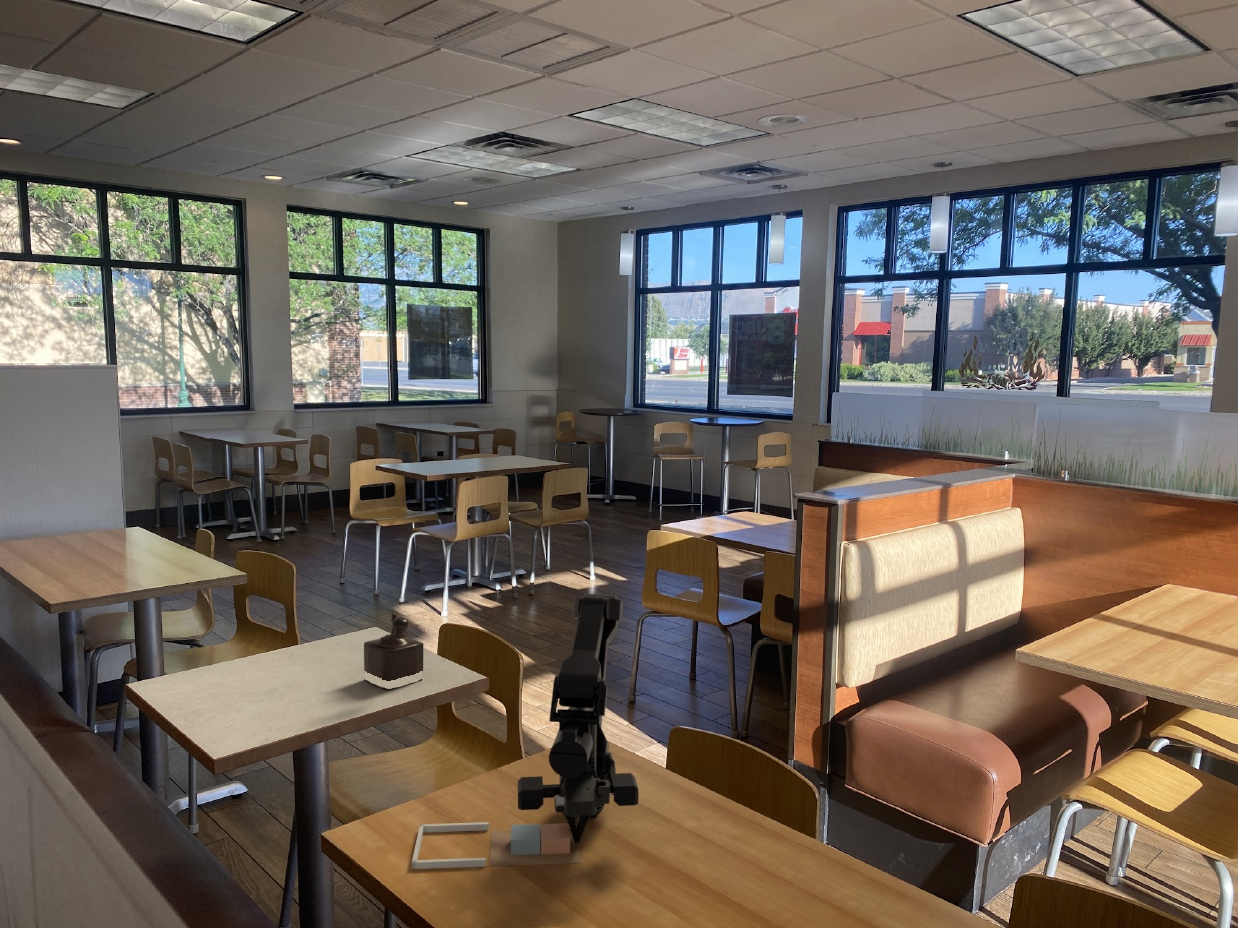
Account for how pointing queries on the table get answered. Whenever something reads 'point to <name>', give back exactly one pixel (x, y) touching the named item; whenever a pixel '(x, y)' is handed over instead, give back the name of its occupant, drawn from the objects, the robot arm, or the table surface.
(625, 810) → the table surface
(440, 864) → the tray
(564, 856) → the board
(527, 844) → the slate tile
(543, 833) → the terracotta tile
